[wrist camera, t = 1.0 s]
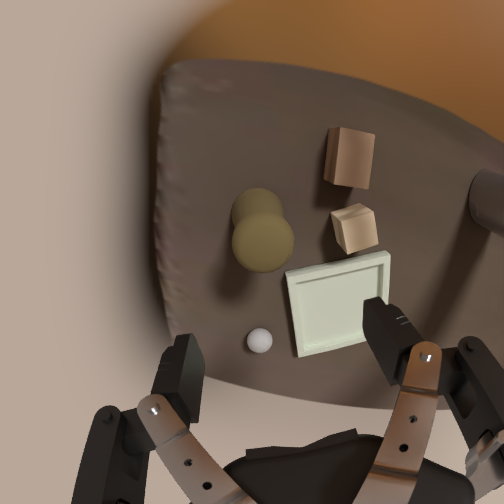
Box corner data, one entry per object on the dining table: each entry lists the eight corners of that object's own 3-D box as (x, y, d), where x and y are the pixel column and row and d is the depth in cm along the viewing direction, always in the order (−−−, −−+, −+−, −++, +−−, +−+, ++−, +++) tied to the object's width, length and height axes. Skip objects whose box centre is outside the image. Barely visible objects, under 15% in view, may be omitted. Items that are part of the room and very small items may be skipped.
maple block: (359, 203, 31) (373, 211, 28) (364, 232, 33) (378, 243, 29) (330, 212, 32) (341, 221, 28) (336, 241, 33) (347, 254, 29)
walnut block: (360, 134, 28) (375, 134, 24) (354, 183, 30) (368, 189, 27) (328, 128, 28) (340, 127, 24) (323, 178, 30) (333, 184, 26)
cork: (288, 230, 32) (309, 273, 22) (239, 244, 33) (238, 292, 23) (276, 181, 30) (294, 203, 20) (224, 196, 30) (215, 224, 20)
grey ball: (269, 321, 37) (271, 337, 34) (272, 339, 39) (275, 355, 35) (244, 325, 37) (244, 341, 34) (249, 343, 39) (250, 359, 36)
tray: (385, 250, 34) (390, 254, 32) (380, 329, 39) (384, 335, 38) (284, 271, 34) (286, 277, 33) (296, 350, 40) (298, 357, 38)
